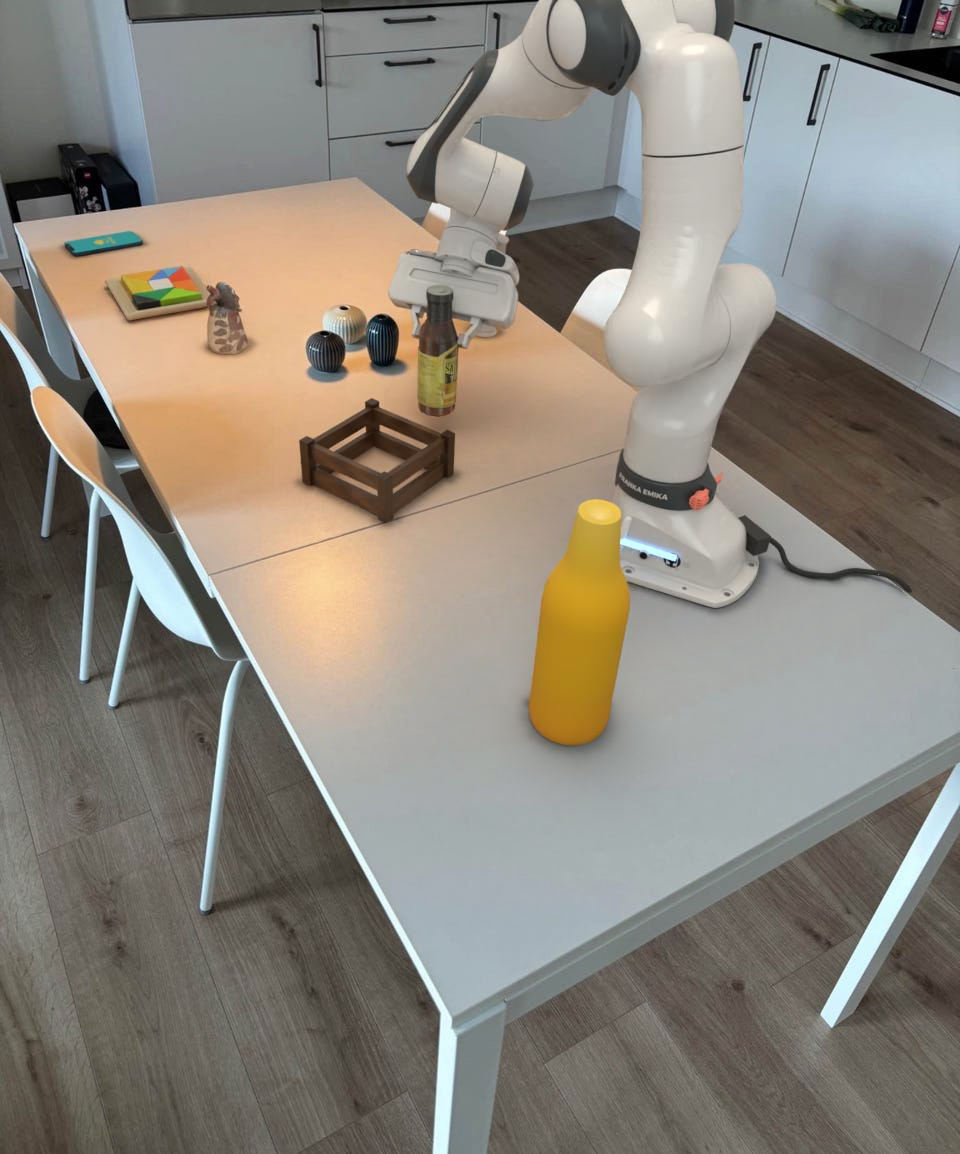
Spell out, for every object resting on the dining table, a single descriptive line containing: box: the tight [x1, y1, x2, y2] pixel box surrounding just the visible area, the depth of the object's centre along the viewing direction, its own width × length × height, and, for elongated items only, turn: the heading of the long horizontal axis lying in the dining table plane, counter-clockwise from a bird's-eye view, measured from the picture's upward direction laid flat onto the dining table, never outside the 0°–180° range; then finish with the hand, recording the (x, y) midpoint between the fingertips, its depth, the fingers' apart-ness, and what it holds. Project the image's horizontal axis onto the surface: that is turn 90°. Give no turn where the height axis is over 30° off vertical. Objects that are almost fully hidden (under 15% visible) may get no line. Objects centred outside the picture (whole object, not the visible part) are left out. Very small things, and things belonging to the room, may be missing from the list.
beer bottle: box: [528, 498, 631, 746], centre depth 102 cm, size 9×9×29 cm
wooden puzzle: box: [104, 265, 217, 321], centre depth 192 cm, size 18×19×4 cm
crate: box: [298, 397, 456, 524], centre depth 145 cm, size 16×16×7 cm
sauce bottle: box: [417, 285, 460, 418], centre depth 151 cm, size 7×6×20 cm
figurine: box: [205, 281, 250, 355], centre depth 175 cm, size 7×7×12 cm
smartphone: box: [64, 230, 144, 257], centre depth 212 cm, size 7×1×15 cm
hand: (439, 342), depth 150 cm, fingers closed on sauce bottle, 6 cm apart
